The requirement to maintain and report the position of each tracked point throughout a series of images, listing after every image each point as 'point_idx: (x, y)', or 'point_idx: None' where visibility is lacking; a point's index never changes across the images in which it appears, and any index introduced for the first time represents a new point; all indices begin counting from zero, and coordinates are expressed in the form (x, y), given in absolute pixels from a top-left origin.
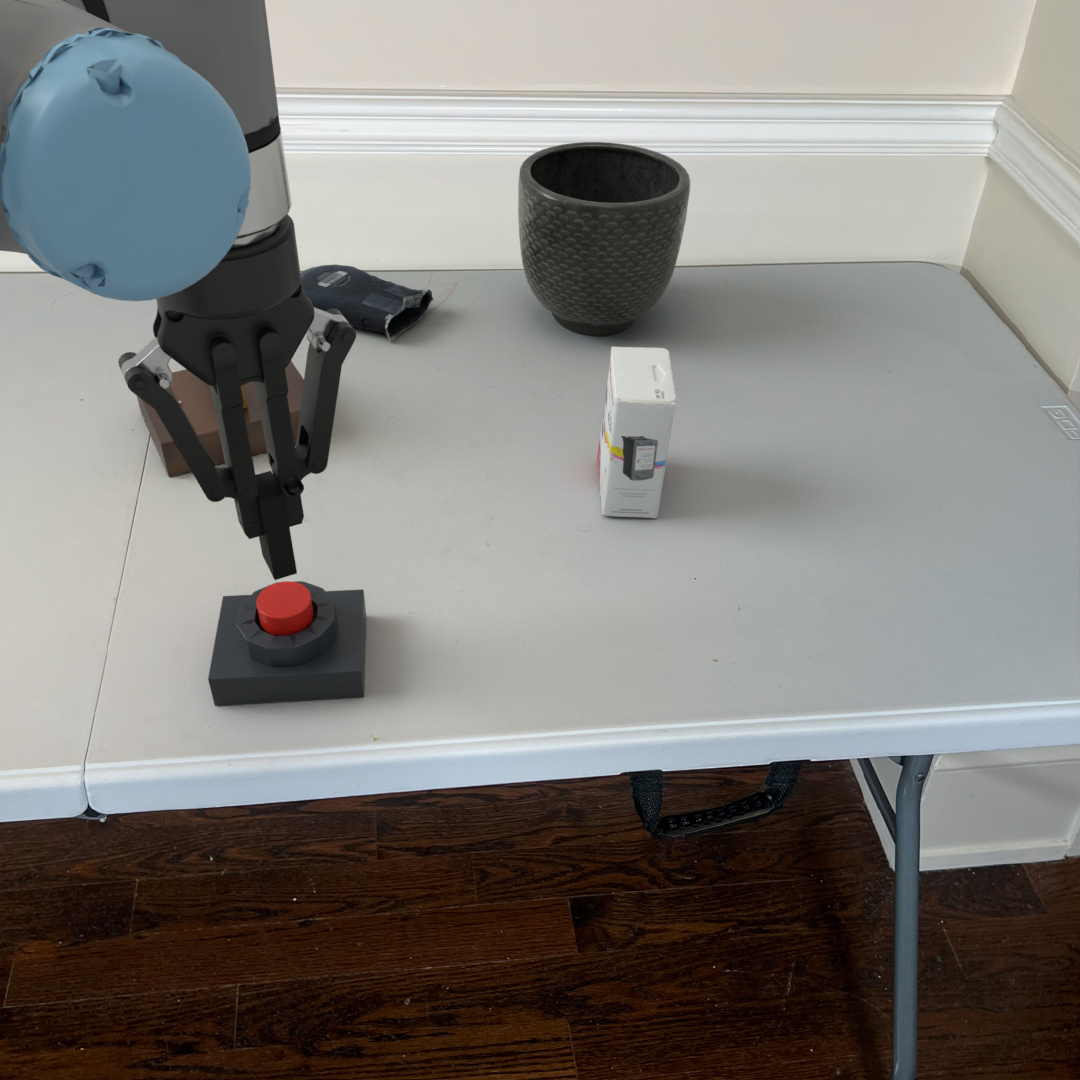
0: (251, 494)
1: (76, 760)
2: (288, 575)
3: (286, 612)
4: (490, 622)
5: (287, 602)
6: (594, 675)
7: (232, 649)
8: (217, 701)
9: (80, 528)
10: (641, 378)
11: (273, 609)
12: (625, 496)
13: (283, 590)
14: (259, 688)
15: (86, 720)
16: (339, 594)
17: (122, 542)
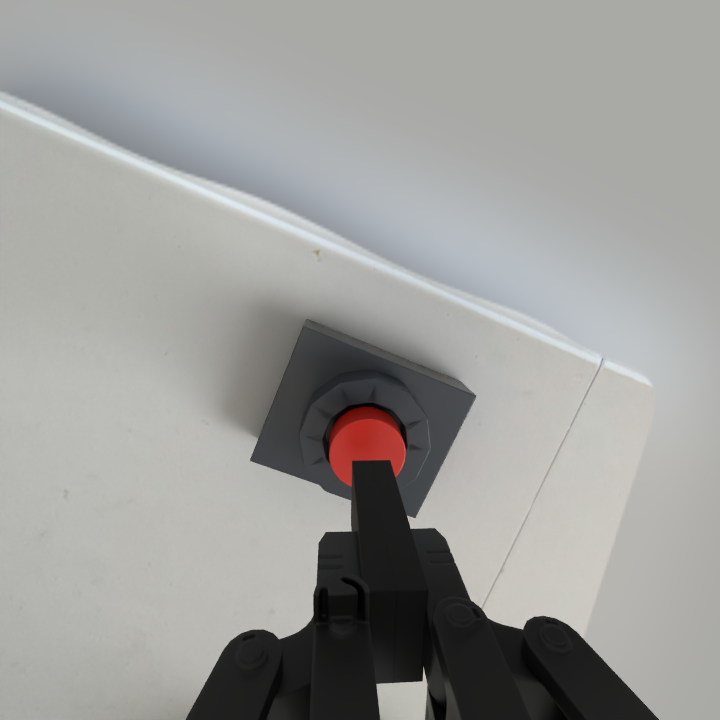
0: (455, 612)
1: (605, 373)
2: (366, 460)
3: (373, 428)
4: (113, 364)
5: (365, 447)
6: (8, 214)
7: (435, 429)
8: (460, 382)
9: None
10: None
11: (387, 441)
12: None
13: None
14: (419, 369)
15: (580, 421)
16: (282, 464)
17: None
